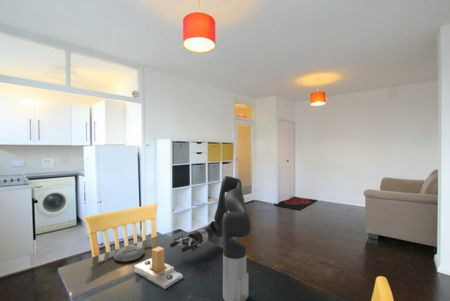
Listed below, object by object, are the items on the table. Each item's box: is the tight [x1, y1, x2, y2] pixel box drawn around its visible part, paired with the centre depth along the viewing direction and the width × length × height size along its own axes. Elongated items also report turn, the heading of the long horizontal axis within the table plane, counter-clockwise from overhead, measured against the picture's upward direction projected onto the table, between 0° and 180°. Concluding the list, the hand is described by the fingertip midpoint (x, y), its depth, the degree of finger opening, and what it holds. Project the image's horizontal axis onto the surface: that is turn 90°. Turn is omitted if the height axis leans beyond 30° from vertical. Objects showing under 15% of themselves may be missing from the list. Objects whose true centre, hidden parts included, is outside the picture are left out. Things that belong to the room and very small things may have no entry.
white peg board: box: [134, 257, 184, 290], centre depth 104 cm, size 22×10×3 cm, turn 54°
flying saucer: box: [113, 245, 145, 262], centre depth 122 cm, size 15×15×6 cm
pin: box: [151, 246, 165, 273], centre depth 104 cm, size 4×4×12 cm
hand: (176, 247), depth 113 cm, fingers open, 8 cm apart
